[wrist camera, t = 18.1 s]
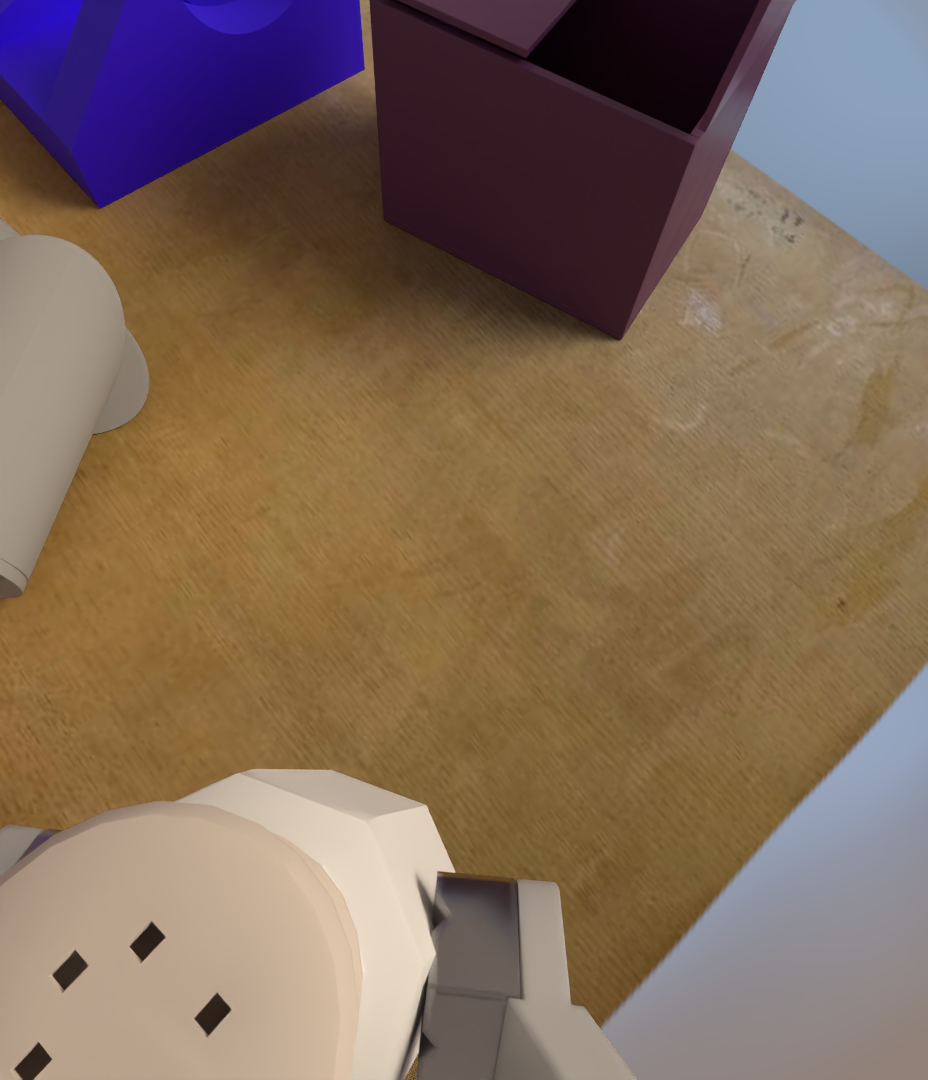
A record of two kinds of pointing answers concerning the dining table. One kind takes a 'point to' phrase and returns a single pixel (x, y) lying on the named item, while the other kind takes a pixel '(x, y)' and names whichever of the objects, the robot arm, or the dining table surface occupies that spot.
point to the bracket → (164, 76)
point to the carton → (558, 136)
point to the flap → (746, 53)
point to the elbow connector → (54, 384)
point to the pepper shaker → (224, 936)
